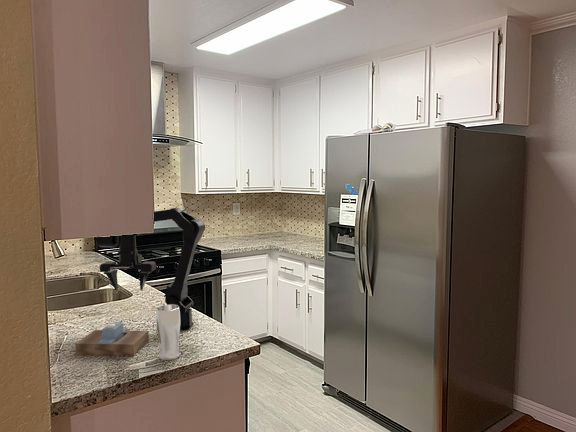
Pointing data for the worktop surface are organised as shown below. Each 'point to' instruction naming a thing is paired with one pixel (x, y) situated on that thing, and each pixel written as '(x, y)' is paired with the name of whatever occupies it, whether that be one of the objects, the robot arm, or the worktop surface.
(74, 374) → the worktop surface
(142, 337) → the plate
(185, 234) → the robot arm
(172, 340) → the beer glass
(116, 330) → the block
